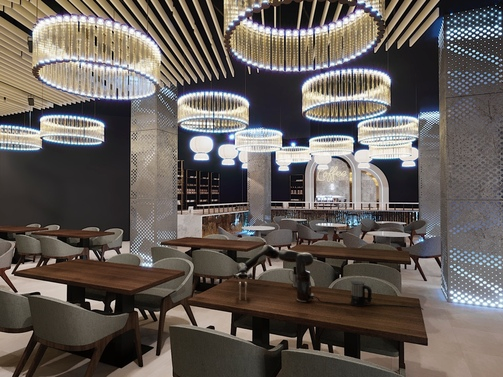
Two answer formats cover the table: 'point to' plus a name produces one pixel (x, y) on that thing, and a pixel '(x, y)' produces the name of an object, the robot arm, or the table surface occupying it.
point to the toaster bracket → (240, 290)
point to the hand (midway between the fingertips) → (242, 278)
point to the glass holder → (294, 277)
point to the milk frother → (360, 293)
